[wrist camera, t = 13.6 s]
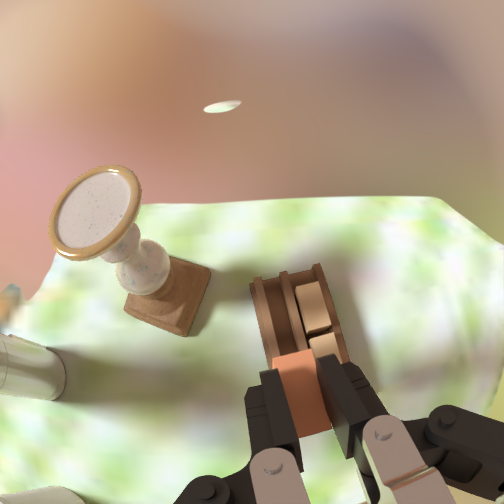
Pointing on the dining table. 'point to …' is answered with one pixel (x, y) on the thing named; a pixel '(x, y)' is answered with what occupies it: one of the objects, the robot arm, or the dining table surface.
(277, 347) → the rack
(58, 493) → the utensil holder
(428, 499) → the robot arm
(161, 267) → the candle holder
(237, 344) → the dining table surface
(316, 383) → the slat
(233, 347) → the dining table surface
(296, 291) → the offcut block
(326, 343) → the offcut block
